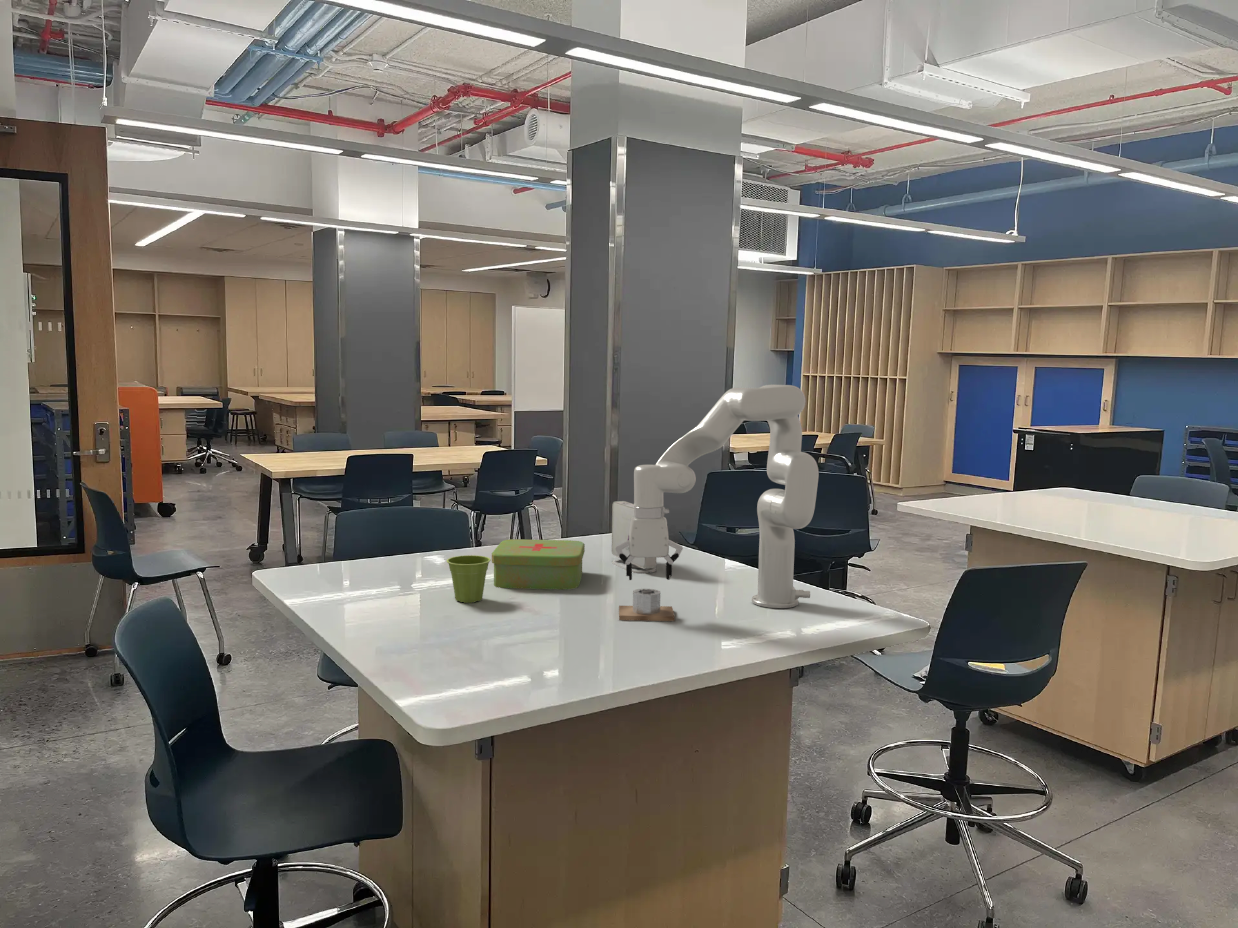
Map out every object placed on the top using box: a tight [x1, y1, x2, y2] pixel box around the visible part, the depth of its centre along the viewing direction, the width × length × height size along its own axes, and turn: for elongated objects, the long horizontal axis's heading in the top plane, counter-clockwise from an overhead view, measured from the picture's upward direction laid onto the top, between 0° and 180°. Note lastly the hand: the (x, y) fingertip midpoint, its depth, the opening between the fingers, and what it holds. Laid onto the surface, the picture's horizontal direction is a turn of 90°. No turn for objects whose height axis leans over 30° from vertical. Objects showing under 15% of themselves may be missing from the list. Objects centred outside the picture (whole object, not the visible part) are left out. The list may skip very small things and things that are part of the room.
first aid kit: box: [491, 538, 586, 590], centre depth 271 cm, size 26×26×10 cm
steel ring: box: [632, 588, 662, 615], centre depth 231 cm, size 7×7×5 cm
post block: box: [618, 591, 676, 622], centre depth 232 cm, size 14×10×6 cm
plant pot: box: [446, 554, 492, 604], centre depth 244 cm, size 12×12×11 cm
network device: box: [611, 500, 657, 574], centre depth 291 cm, size 26×9×20 cm, turn 25°
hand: (649, 578), depth 231 cm, fingers open, 9 cm apart
